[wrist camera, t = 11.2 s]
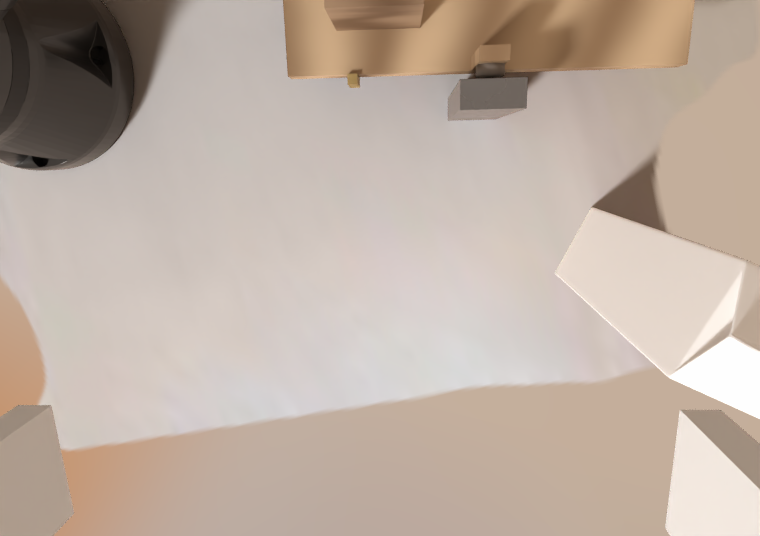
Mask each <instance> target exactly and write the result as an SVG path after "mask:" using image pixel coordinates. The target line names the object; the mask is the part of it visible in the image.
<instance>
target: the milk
mask: <svg viewBox="0 0 760 536" xmlns="http://www.w3.org/2000/svg"><path fill="white" fill-rule="evenodd" d="M555 274H556V275H557V276H558V277H559V278H561V279H562V280H563V281H564V282H565V283H566V284H567V285H568V286H569V287H570V288H571V289H573V290H574V291H575V292H576V293H577V294H578V295H579V296H580V297H581V298H582V299H583V300H584V301H586V302H587V303H588V304H589V305H590V306H591V307H592V308H593V309H594V310H595V311H596V312H598V313H599V314H600V315H601V316H602V317H603V318H604V319H605V320H606V321H607V322H608V323H610V324H611V325H612V326H613V327H614V328H615V329H616V330H617V331H618V332H619V333H620V334H622V335H623V336H624V337H625V338H626V339H627V340H628V341H629V342H630V343H631V344H632V345H634V346H635V347H636V348H637V349H638V350H639V351H640V352H641V353H642V354H643V355H644V356H646V357H647V358H648V359H649V360H650V361H651V362H652V363H653V364H654V365H655V366H656V367H658V368H659V369H660V370H661V371H662V372H663V373H664V374H665V375H666V376H667V377H669V378H670V379H672V380H675V381H677V382H679V383H681V384H684V385H686V386H688V387H690V388H692V389H694V390H697V391H699V392H701V393H703V394H706V395H708V396H710V397H712V398H715V399H717V400H719V401H721V402H723V403H725V404H728V405H730V406H732V407H734V408H736V409H739V410H741V411H743V412H745V413H748V414H750V415H752V416H754V417H756V418H759V419H760V266H759V265H757V264H755V263H752V262H750V261H748V260H745V259H742V258H739V257H737V256H734V255H731V254H728V253H725V252H722V251H719V250H716V249H713V248H711V247H707V246H705V245H702V244H699V243H696V242H693V241H690V240H687V239H684V238H681V237H678V236H676V235H673V234H670V233H667V232H664V231H661V230H658V229H655V228H652V227H649V226H646V225H643V224H640V223H638V222H635V221H632V220H629V219H626V218H623V217H620V216H617V215H614V214H611V213H608V212H605V211H603V210H600V209H597V208H594V207H592V208H591V209H590V211H589V212H588V214H587V216H586V218H585V219H584V221H583V223H582V225H581V227H580V228H579V230H578V232H577V234H576V235H575V237H574V239H573V241H572V243H571V244H570V246H569V248H568V250H567V251H566V253H565V255H564V257H563V259H562V260H561V262H560V264H559V266H558V267H557V269H556V271H555Z"/></svg>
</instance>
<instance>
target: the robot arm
mask: <svg viewBox="0 0 760 536" xmlns="http://www.w3.org/2000/svg"><path fill="white" fill-rule="evenodd" d="M133 90H134V78H133V68H132V62H131V57H130V53H129V50H128V47H127V44H126V41H125V39H124V36H123V34H122V32H121V30H120V28H119V26H118V24H117V22H116V21H115V19H114V18H113V16H112V15H111V13H110V12H109V10H108V9H107V8H106V7H105V5H104V4H103V3H102V2H101V1H100V0H0V162H1V163H4V164H6V165H9V166H13V167H17V168H22V169H28V170H59V169H69V168H74V167H78V166H81V165H84V164H86V163H89V162H91V161H93V160H94V159H96V158H98V157H99V156H100V155H102V154H103V153H104V152H105V151H107V150H108V149H109V148H110V147H111V146H112V145H113V143H114V142H115V141H116V140H117V138H118V137H119V135H120V134H121V132H122V130H123V128H124V126H125V124H126V122H127V119H128V116H129V113H130V110H131V105H132V100H133ZM73 514H74V510H73V506H72V501H71V496H70V491H69V487H68V482H67V478H66V473H65V468H64V463H63V458H62V454H61V449H60V444H59V440H58V435H57V430H56V426H55V421H54V416H53V411H52V407H51V405H18V406H16V407H15V408H13V409H12V410H10V411H9V412H7V413H6V414H4V415H3V416H1V417H0V536H53V535H54V534H55V533H56V532H57V531H58V530H59V529H60V528H61V527H62V526H63V525H64V523H66V521H67V520H68V519H69V518H70V517H71V516H72V515H73ZM665 528H666V529H667V531H668V533H669V534H670V536H760V444H759V443H758V442H757V441H756V440H755V439H754V438H752V437H751V436H750V435H749V434H748V433H747V432H745V431H744V430H743V429H742V428H741V427H740V426H739V425H737V424H736V423H735V422H734V421H733V420H732V419H730V418H729V417H728V416H727V415H726V414H725V413H724V412H722V411H721V410H680V413H679V421H678V429H677V438H676V446H675V454H674V462H673V470H672V478H671V486H670V494H669V502H668V510H667V519H666V526H665Z"/></svg>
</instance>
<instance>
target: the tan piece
mask: <svg viewBox="0 0 760 536" xmlns="http://www.w3.org/2000/svg"><path fill="white" fill-rule="evenodd" d="M694 2H695V0H424V8H423V14H422V19H421V25H420V28H407V29H378V30H349V31H336V29H335V27H334V25H333V23H332V21H331V19H330V18H329V16H328V14H327V12H326V10H325V8H324V0H283V6H284V22H285V37H286V53H287V68H288V77H290V78H291V79H310V78H342V77H348V85H349V86H350V88H360V78H359V77H375V76H407V75H440V74H472V73H476V77H477V78H496V77H502V76H504V75H505V72H537V71H570V70H602V69H635V68H668V67H679V66H682V65H686V64H687V62H688V54H689V45H690V37H691V28H692V19H693V11H694Z"/></svg>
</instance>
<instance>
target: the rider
mask: <svg viewBox="0 0 760 536" xmlns="http://www.w3.org/2000/svg"><path fill="white" fill-rule="evenodd" d="M324 8H325V10H326V12H327V14H328V16H329V18H330V19H331V21H332V23H333V25H334V27H335V29H336V31H349V30H378V29H407V28H420V25H421V19H422V14H423V8H424V0H324Z"/></svg>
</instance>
